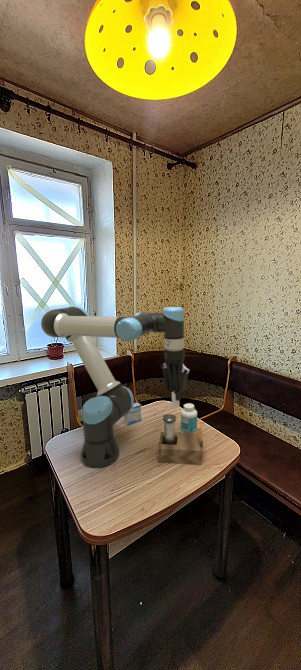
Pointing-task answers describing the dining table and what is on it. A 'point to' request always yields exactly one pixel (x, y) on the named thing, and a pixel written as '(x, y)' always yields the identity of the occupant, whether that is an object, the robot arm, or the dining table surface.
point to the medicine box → (133, 414)
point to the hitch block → (181, 449)
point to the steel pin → (169, 428)
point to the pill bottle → (189, 419)
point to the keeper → (199, 431)
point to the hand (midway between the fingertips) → (175, 407)
